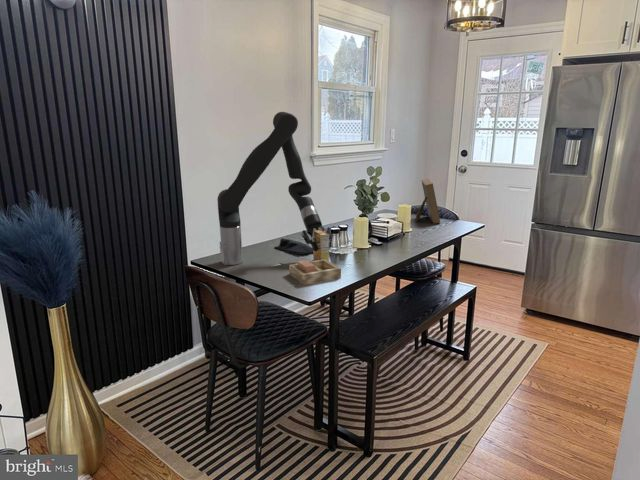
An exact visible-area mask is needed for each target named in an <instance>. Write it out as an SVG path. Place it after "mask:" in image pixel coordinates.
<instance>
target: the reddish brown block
mask: <svg viewBox="0 0 640 480" xmlns="http://www.w3.org/2000/svg"><path fill="white" fill-rule="evenodd" d="M297 264H298V268H299V269H300V270H301V271H303V272H304V273H310V272H315V265H314V264H312V263H311V262H310V261H309V260H307V259H305V260H298V261H297Z"/></svg>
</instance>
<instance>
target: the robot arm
mask: <svg viewBox="0 0 640 480" xmlns="http://www.w3.org/2000/svg"><path fill="white" fill-rule="evenodd" d="M298 121H299V120H298V118H297V116H295V115H294V114H293V113H289V112H285V111H279V112H277V113H276V114H275V115H274V116H273V120H272V125H273V128H274V129H273V130H272V132H270V135H269V136H268V137H267V138H266V139H265V140H264V141H261V142H260V144H258V145H257V146H256V147H254V148H253V149H252V151H251V152H250V153H249V155H248V156H247V158H245V160H244V162H243V164H242V166H241V167H240V170H239V172H238V174H237V176H236V178H235V179H234V181H233V182H232V184H231V185H230V186H229V187H228V188H227V189H223V190H221V191H220V192H219V193H218V196H217V209H218V210H217V212H218V223H219V235H220V241H219V250H220V251H219V253H220V262H221V263H222V265H224V266H234V265H240V264H241V263H243V257H244V256H243V245H242V228H241V226H242V225H241V217H240V216H241V215H240V206H241V204H242V202H243V200H244V198H245V196H246V195H247V194H248V192H249V190H250V189H251V188H252V186H253V185H254V184H255V183H256V182H257V181H258V180H259V179H260V177H261V175H262V174H263V173H264V172H265V171H266V169H267V168H268V167H269V165H270V163H271V162H272V161H273V159H274V158H275V156H276V155H277V154H278V153H279V151H280V150H281V148H282V152H283V156H284V159H285V164H286V168H287V173H288V176H289V178H290V179H292V180H300V181H297V182H293V183H290V184H289V185H288V193H289V195H290V197H291V199H293V200H294V202H295V203H296V205H297V206H298V209H299V211H300V217H301V219H302V222H303V225H304V226H305V229H306V230H304V229H303V230H302V232H301V234H300V235H301V236H302V238H303V240H304V241H305V244H306V245H311V248H313V250H314V251H315V252H316V251H317V250H318V248H317V245H316V242H315V233H314V231H316V230H322V231H324V232H326V233H328V234H329V250H331V246H332V245H331V242H330V241H331V240H332V239H333V237H332V236H333V235H332V232H331V227H329V226H327V227H324V226H323V224H322V221H321V220H322V219H321V218H320V215H319V213H318V210H317V209H316V207H315V204H314V202H313V199H312V197H310V196H308V195H310V194H311V191H312V186H311V184H310V182H309V181H308V179H307V176H306V174H305V172H304V167H303V163H302V159H301V156H300V153H299V151H298V149H297V146H296V144H295V141H294V137H293V135H294V133H295V132H296V131H297V129H298V127H299V126H298V125H299V122H298ZM309 236H310V237H309Z"/></svg>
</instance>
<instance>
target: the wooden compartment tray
mask: <svg viewBox="0 0 640 480" xmlns="http://www.w3.org/2000/svg"><path fill="white" fill-rule="evenodd" d="M309 262H311V263H312V264H314V265H315V272H310V273H304V272H303V271H301V270H300V269H299V268H298V263H293V264H289V265H288V266H289V267H288V270H289V275H290V276H291V277H292V278H294V279H295V280H296V281H298V282H299V283H301V284H302V285H303V286H306V285H311V284H316V283H321V282H328V281H333V280H337V279H341V278H342V268H341V267H339V266H338V265H336V264H334V263H333V262H331V261H330V260H329V261H327V260H326V259H322V260H316V261H314V260H311V261H309Z"/></svg>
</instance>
